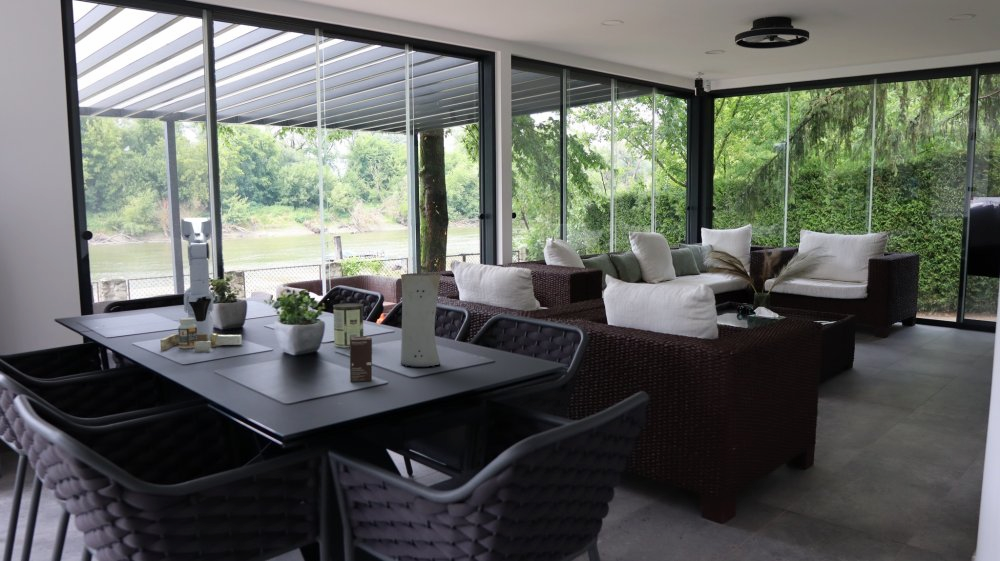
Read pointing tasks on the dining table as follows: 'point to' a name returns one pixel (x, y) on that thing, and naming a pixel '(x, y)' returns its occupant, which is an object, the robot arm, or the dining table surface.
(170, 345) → the oak jamb corner
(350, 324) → the coffee can
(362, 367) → the box
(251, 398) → the dining table surface
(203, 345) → the bracket
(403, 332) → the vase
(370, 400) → the dining table surface
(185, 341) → the pill bottle
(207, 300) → the robot arm
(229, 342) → the bar
